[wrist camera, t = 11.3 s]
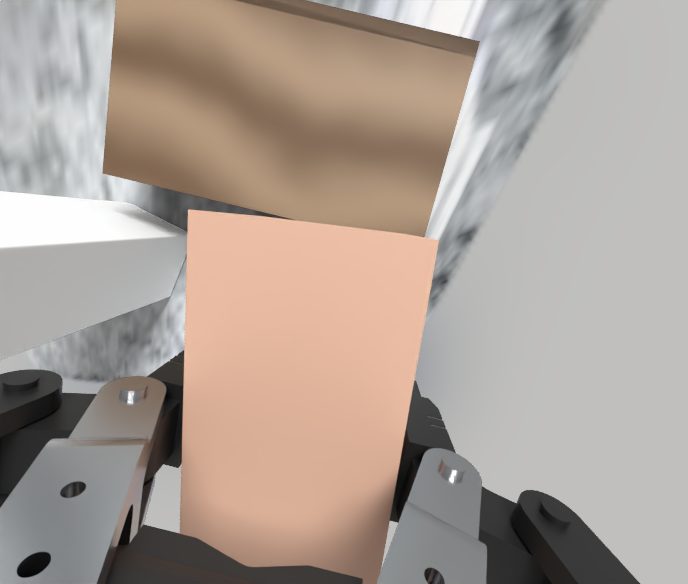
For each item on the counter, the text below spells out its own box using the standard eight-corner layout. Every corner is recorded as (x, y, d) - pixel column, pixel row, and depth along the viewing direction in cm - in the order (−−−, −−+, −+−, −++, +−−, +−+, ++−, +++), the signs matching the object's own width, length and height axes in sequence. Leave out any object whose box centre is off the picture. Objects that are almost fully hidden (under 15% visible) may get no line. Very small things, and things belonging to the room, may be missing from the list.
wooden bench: (179, 22, 25) (119, -44, 19) (450, 86, 24) (479, 41, 18) (160, 184, 27) (102, 173, 21) (407, 244, 27) (420, 250, 21)
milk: (108, 266, 29) (-657, 391, 7) (130, 201, 28) (-718, 119, 6) (172, 297, 29) (-388, 510, 7) (196, 234, 28) (-394, 269, 6)
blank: (261, 215, 12) (188, 209, 7) (405, 233, 11) (439, 240, 7) (243, 466, 14) (178, 603, 9) (366, 484, 13) (369, 633, 9)
